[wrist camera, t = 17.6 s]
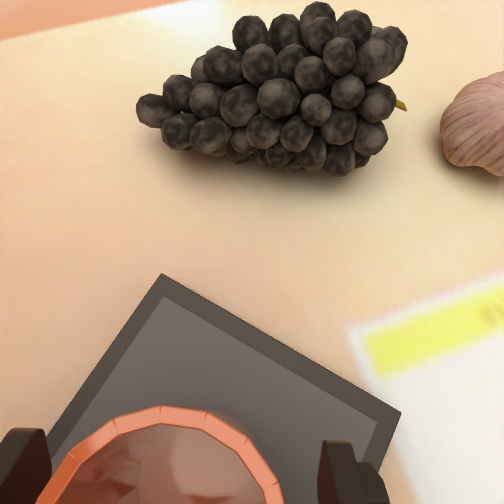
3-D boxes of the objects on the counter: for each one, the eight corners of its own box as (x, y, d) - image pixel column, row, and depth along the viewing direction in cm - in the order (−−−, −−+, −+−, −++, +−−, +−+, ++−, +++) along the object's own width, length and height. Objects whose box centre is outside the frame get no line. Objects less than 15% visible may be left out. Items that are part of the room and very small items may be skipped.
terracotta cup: (221, 594, 14) (197, 819, 7) (103, 508, 15) (-44, 617, 7) (290, 451, 16) (337, 493, 8) (180, 382, 17) (128, 361, 9)
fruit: (87, 42, 16) (454, 44, 16) (129, -22, 21) (405, -21, 21) (134, 199, 23) (395, 201, 23) (157, 120, 28) (368, 122, 28)
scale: (251, 733, 15) (253, 808, 12) (-3, 536, 17) (-51, 562, 15) (384, 411, 20) (408, 412, 17) (169, 286, 22) (158, 267, 19)
